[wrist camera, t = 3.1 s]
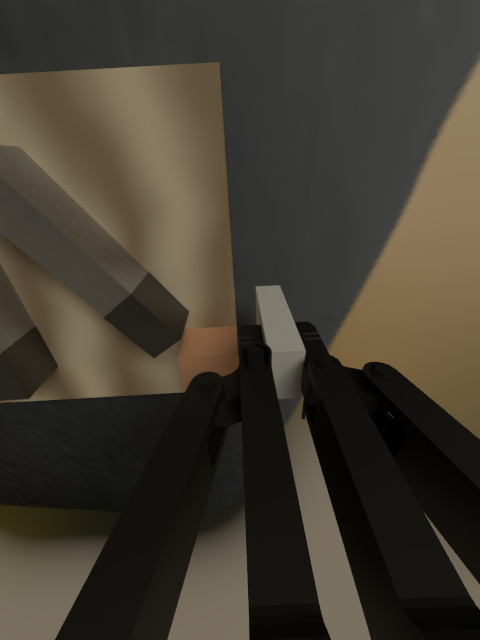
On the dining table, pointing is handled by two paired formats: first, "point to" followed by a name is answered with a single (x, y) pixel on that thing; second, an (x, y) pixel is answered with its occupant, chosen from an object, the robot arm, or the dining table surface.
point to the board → (126, 209)
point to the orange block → (208, 352)
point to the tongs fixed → (20, 347)
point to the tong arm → (84, 255)
